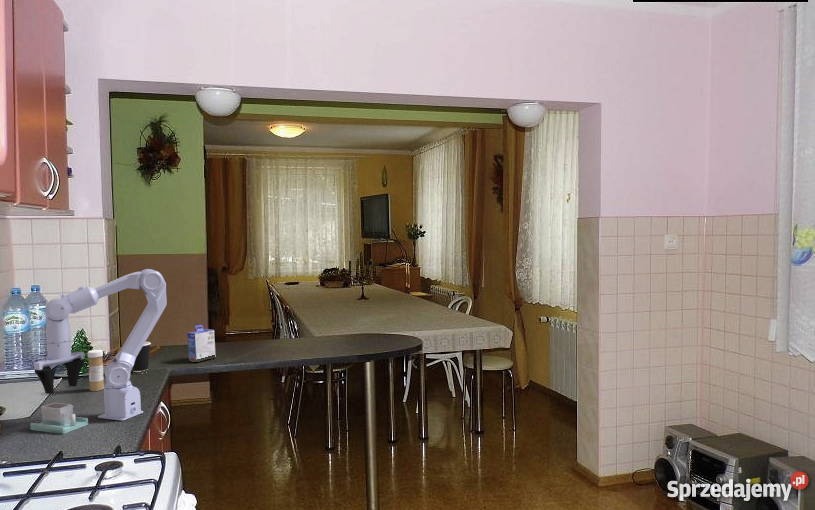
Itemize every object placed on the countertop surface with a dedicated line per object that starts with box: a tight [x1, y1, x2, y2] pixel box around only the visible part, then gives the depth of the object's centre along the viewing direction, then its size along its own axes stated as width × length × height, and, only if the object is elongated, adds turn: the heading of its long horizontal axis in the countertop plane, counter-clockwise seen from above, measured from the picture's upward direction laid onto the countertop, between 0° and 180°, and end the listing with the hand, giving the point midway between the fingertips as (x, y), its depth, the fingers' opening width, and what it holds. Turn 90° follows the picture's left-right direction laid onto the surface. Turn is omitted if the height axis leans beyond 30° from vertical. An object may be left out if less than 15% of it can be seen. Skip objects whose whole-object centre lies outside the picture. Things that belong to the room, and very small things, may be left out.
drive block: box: [40, 402, 74, 427], centre depth 168 cm, size 7×4×5 cm, turn 70°
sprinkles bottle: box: [87, 349, 105, 392], centre depth 206 cm, size 5×5×14 cm
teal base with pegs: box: [29, 413, 89, 435], centre depth 168 cm, size 12×8×4 cm, turn 70°
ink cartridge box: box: [186, 324, 216, 360], centre depth 248 cm, size 10×6×14 cm, turn 148°
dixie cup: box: [132, 341, 152, 373], centre depth 230 cm, size 8×8×11 cm
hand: (61, 389), depth 170 cm, fingers open, 7 cm apart
